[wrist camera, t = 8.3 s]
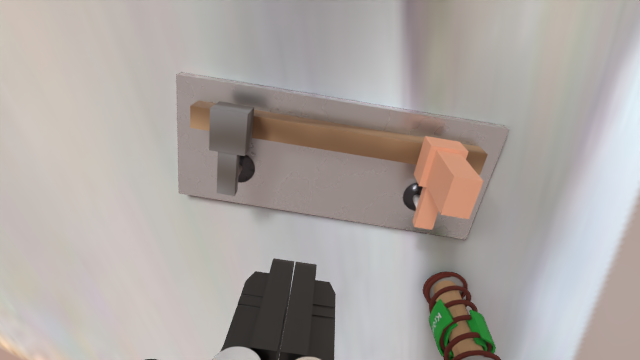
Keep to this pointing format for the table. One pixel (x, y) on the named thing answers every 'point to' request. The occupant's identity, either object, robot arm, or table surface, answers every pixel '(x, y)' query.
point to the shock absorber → (456, 320)
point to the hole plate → (324, 157)
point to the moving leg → (444, 182)
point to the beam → (298, 138)
